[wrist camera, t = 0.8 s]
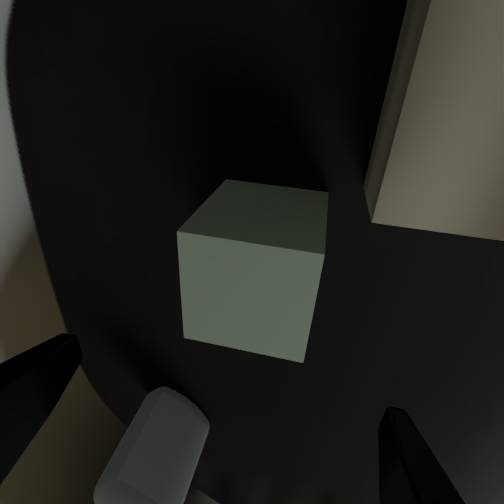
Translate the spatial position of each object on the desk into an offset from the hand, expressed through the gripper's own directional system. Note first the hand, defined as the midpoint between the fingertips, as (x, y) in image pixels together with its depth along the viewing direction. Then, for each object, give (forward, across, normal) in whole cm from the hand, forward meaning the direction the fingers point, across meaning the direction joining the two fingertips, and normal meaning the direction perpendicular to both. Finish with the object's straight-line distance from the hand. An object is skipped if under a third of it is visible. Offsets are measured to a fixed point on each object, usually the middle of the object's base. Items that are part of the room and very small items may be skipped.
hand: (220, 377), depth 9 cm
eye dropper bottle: (+10, +6, +17) cm, 20 cm away
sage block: (+9, 0, 0) cm, 9 cm away
